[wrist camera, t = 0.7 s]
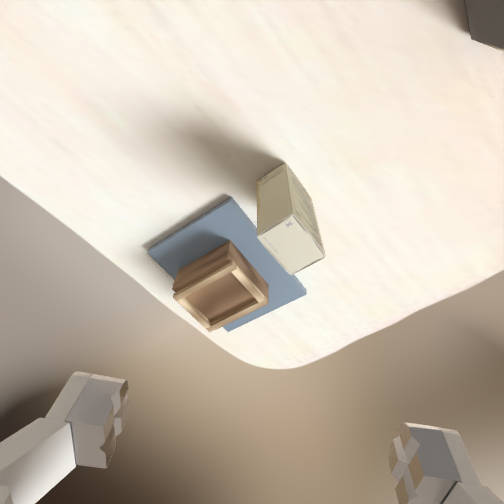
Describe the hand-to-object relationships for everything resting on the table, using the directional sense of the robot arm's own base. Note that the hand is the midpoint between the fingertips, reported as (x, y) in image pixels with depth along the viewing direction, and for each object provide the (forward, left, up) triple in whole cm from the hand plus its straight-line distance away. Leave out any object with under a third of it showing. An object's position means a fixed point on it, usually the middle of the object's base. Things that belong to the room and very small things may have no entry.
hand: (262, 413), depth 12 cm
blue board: (+16, -17, -37) cm, 44 cm away
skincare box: (+10, -4, -37) cm, 39 cm away
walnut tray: (+16, -18, -36) cm, 43 cm away
